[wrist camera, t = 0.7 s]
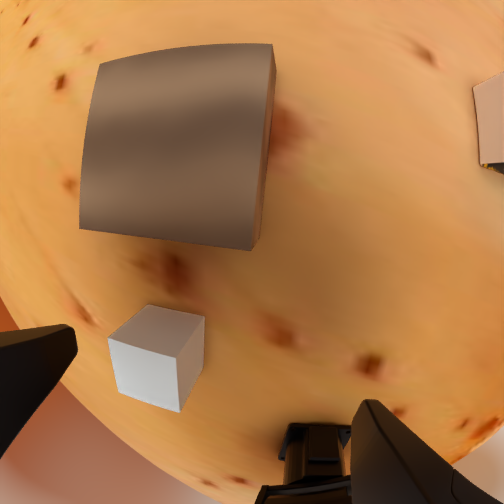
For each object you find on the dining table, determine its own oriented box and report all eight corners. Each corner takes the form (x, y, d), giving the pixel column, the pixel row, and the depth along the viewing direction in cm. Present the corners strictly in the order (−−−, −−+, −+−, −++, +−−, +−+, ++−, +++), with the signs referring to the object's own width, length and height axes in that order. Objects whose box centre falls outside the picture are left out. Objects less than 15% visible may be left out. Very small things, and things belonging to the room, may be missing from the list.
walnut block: (259, 238, 19) (250, 251, 15) (111, 221, 20) (79, 228, 16) (276, 70, 16) (272, 44, 12) (127, 79, 17) (99, 63, 13)
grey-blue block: (203, 366, 22) (179, 413, 16) (151, 353, 22) (118, 392, 16) (205, 315, 21) (175, 358, 15) (148, 303, 21) (107, 337, 15)
